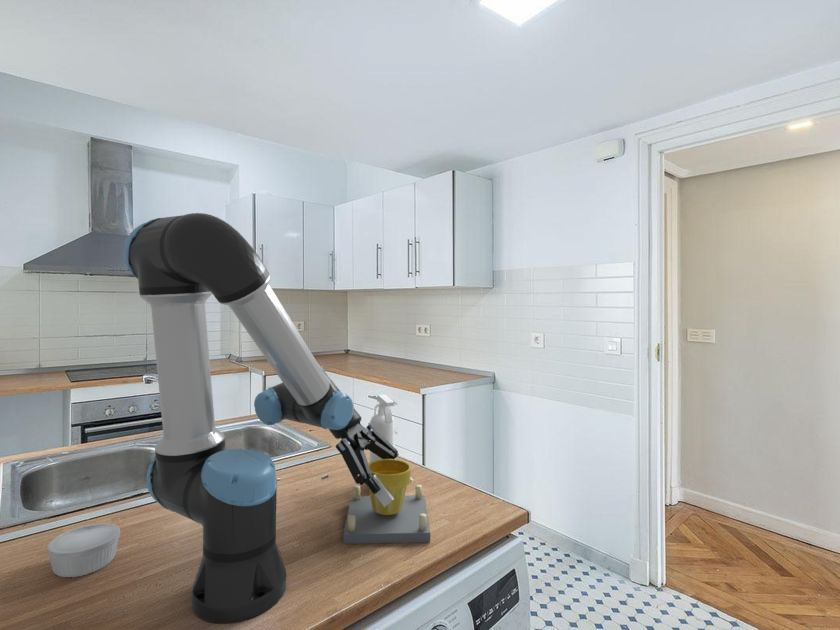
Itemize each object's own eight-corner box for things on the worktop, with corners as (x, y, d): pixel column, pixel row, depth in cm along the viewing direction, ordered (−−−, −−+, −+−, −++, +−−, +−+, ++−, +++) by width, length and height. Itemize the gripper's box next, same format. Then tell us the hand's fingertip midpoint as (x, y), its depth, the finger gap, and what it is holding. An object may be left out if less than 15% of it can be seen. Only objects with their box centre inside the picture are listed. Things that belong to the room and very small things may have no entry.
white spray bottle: (384, 474, 131) (384, 388, 129) (401, 492, 120) (401, 399, 118) (362, 478, 128) (361, 391, 126) (377, 497, 118) (376, 402, 116)
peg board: (430, 542, 96) (430, 518, 96) (343, 543, 95) (343, 520, 94) (424, 503, 114) (424, 483, 113) (351, 504, 113) (351, 484, 112)
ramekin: (109, 541, 95) (109, 516, 94) (129, 562, 87) (129, 535, 87) (40, 566, 86) (39, 538, 86) (56, 590, 79) (55, 560, 79)
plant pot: (404, 496, 110) (404, 456, 110) (415, 516, 101) (416, 472, 100) (361, 500, 108) (361, 459, 107) (368, 522, 98) (369, 476, 97)
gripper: (353, 414, 120) (408, 483, 114) (300, 439, 98) (365, 525, 93) (372, 396, 117) (428, 465, 112) (322, 418, 96) (388, 504, 91)
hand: (399, 493), depth 103 cm, fingers closed on plant pot, 10 cm apart
